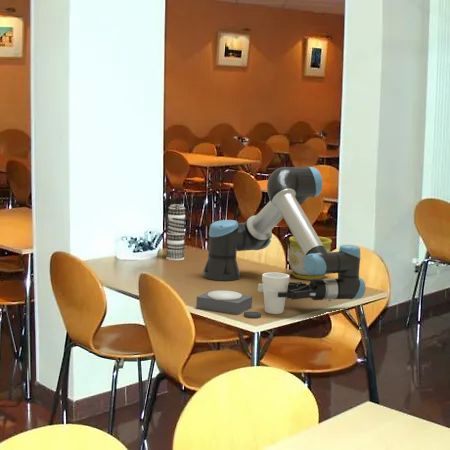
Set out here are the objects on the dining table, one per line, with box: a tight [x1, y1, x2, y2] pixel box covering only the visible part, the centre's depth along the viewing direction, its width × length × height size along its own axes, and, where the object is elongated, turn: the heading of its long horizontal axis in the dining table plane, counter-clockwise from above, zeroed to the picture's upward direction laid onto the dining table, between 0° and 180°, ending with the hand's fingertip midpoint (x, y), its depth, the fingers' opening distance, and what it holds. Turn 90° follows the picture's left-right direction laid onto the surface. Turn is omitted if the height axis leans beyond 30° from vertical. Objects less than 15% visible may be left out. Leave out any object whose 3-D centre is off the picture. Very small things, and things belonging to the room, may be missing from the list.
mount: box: [196, 290, 253, 315], centre depth 291 cm, size 16×12×5 cm
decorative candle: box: [165, 203, 187, 261], centre depth 376 cm, size 9×9×25 cm
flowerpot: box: [287, 235, 333, 281], centre depth 349 cm, size 18×18×16 cm
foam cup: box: [261, 272, 291, 315], centre depth 287 cm, size 10×9×13 cm
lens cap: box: [243, 310, 262, 319], centre depth 281 cm, size 6×6×1 cm
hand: (263, 291), depth 286 cm, fingers closed on foam cup, 9 cm apart
